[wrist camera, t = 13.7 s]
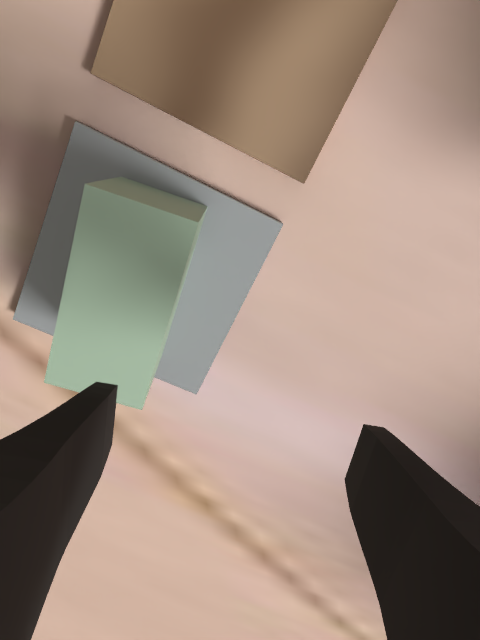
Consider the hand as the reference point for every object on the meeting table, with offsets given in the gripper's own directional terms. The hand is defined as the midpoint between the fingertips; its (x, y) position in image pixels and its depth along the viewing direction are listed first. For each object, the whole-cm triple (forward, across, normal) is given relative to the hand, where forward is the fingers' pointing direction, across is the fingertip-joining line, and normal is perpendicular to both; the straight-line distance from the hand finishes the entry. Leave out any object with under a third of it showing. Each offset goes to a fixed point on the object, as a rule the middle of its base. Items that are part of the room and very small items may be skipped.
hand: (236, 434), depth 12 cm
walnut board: (+10, +2, -13) cm, 17 cm away
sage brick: (+10, +5, -1) cm, 11 cm away
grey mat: (+10, +5, -1) cm, 12 cm away
